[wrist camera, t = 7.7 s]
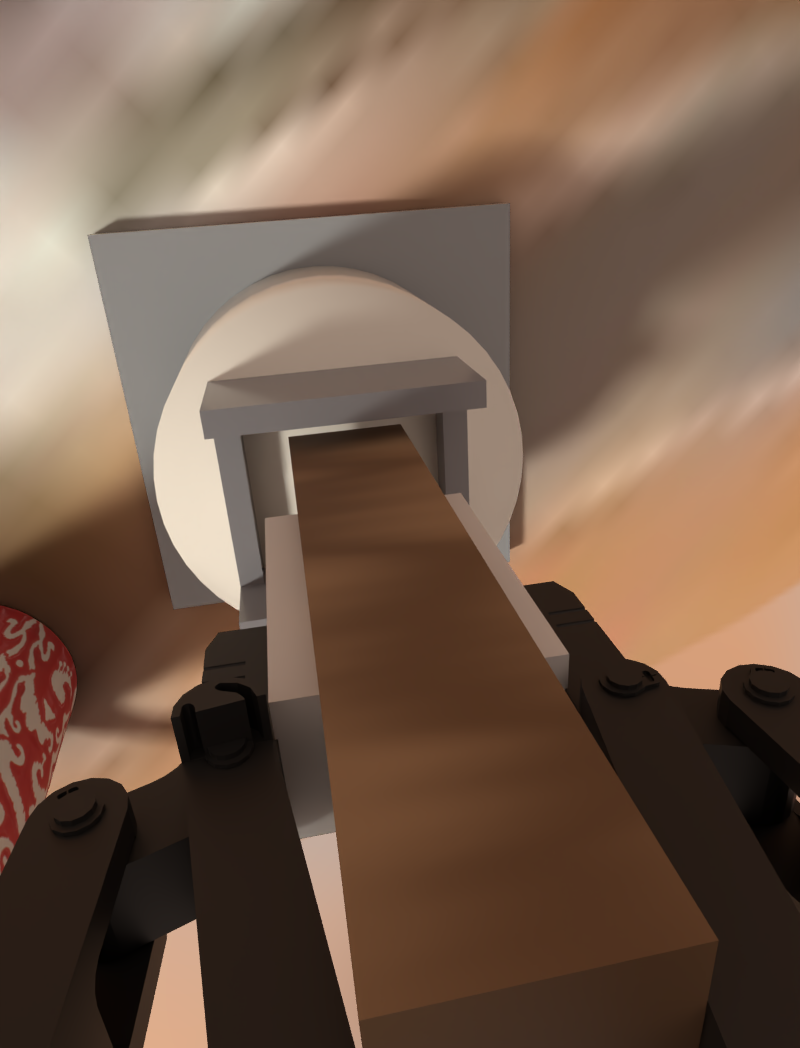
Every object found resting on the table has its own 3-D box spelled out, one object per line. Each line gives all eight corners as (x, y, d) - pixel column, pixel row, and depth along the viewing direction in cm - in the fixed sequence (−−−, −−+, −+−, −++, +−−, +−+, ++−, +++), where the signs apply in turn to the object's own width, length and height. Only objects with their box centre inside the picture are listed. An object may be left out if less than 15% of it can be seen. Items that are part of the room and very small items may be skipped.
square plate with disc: (175, 599, 30) (140, 768, 21) (92, 233, 24) (-5, 257, 15) (504, 553, 32) (598, 691, 23) (502, 203, 26) (629, 207, 17)
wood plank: (306, 570, 21) (394, 1264, 7) (288, 436, 19) (358, 1021, 6) (409, 556, 21) (671, 1189, 8) (400, 423, 19) (717, 940, 6)
